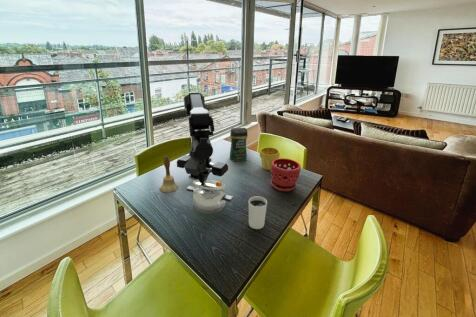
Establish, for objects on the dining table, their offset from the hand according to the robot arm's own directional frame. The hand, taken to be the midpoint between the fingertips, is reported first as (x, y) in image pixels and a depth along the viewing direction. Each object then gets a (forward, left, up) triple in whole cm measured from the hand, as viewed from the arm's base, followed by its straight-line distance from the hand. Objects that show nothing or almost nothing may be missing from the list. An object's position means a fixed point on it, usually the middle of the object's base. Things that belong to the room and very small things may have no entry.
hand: (203, 185), depth 97 cm
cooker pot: (0, +4, -12) cm, 12 cm away
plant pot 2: (+25, +31, -12) cm, 42 cm away
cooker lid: (0, +5, -3) cm, 6 cm away
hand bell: (-23, +8, -12) cm, 27 cm away
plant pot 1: (+13, +47, -12) cm, 51 cm away
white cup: (+22, 0, -12) cm, 25 cm away
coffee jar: (-6, +50, -12) cm, 52 cm away
